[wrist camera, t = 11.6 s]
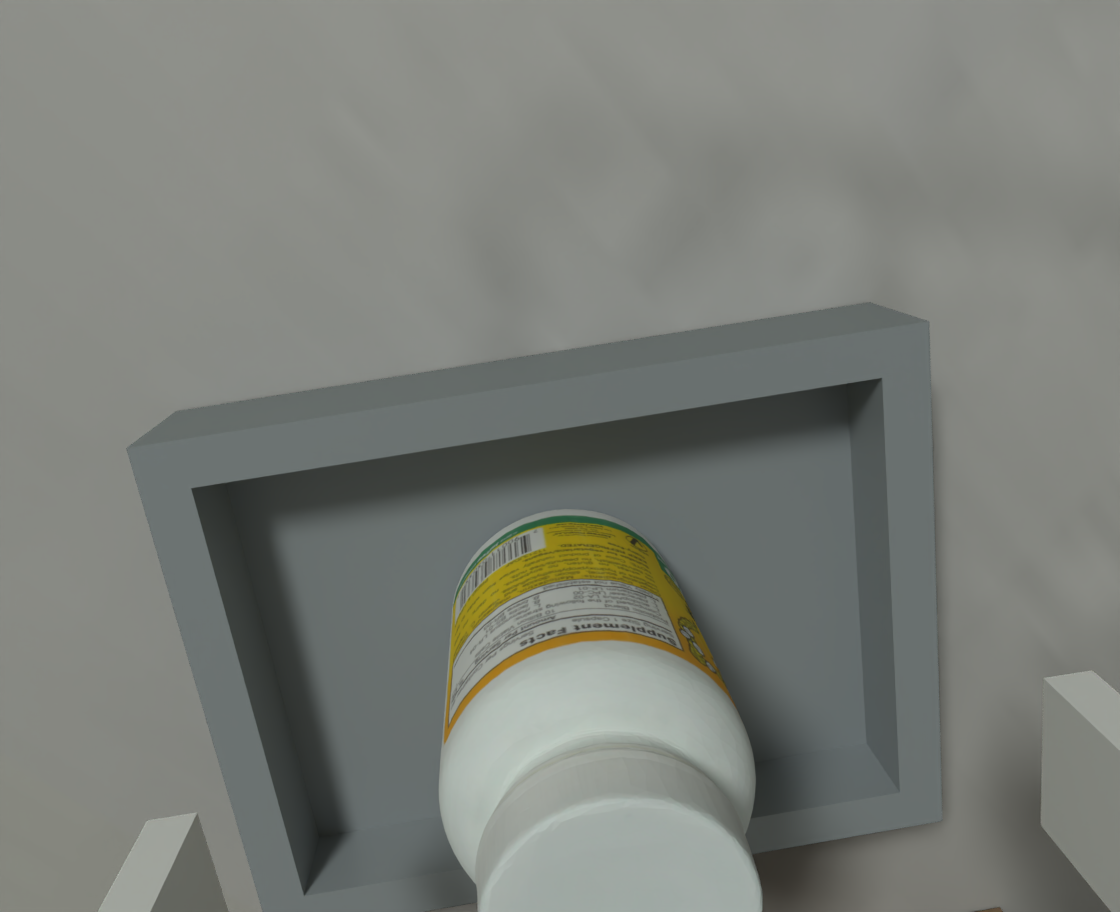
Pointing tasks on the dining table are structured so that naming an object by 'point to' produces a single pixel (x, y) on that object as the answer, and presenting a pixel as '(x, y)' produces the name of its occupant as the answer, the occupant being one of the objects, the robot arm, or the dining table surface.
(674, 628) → the supplement bottle
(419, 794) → the slate tray
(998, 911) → the walnut box
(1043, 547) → the dining table surface
